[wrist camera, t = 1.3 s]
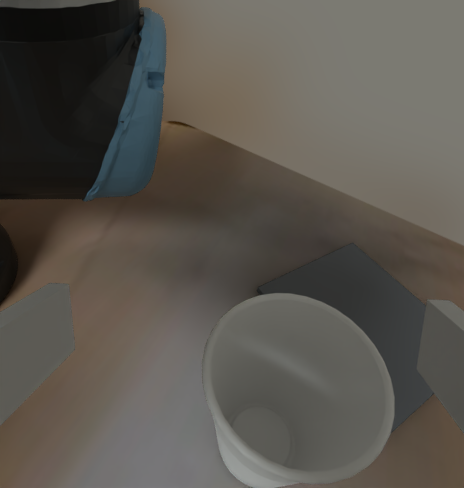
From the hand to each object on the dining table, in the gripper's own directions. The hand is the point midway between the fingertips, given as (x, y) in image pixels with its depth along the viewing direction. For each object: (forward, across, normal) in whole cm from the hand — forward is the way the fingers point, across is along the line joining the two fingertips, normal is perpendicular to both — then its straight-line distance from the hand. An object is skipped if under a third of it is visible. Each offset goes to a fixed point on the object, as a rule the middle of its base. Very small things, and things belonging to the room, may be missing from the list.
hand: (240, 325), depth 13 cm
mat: (+21, +11, -9) cm, 25 cm away
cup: (+10, +1, -14) cm, 17 cm away
